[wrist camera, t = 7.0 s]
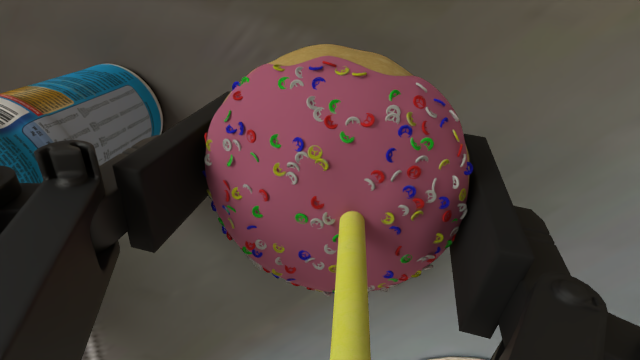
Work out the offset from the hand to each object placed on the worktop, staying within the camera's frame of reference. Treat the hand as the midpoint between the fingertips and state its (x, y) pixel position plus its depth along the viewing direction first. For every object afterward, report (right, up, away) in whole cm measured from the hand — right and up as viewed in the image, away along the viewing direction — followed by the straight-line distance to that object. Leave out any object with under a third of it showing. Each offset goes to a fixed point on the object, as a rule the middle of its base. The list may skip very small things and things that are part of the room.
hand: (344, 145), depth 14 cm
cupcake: (0, +1, +1) cm, 2 cm away
